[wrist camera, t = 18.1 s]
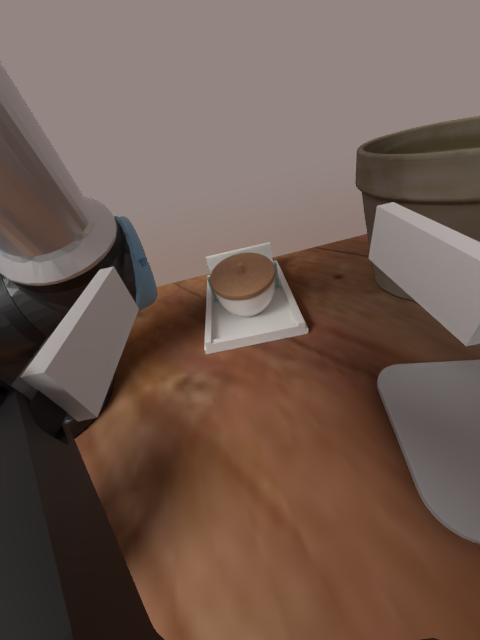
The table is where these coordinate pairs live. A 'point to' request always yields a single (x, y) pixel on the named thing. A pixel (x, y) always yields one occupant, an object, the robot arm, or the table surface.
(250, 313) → the lidded jar
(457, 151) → the plant pot
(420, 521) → the table surface
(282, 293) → the pusher lane
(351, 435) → the table surface
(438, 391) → the tablet
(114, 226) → the robot arm
